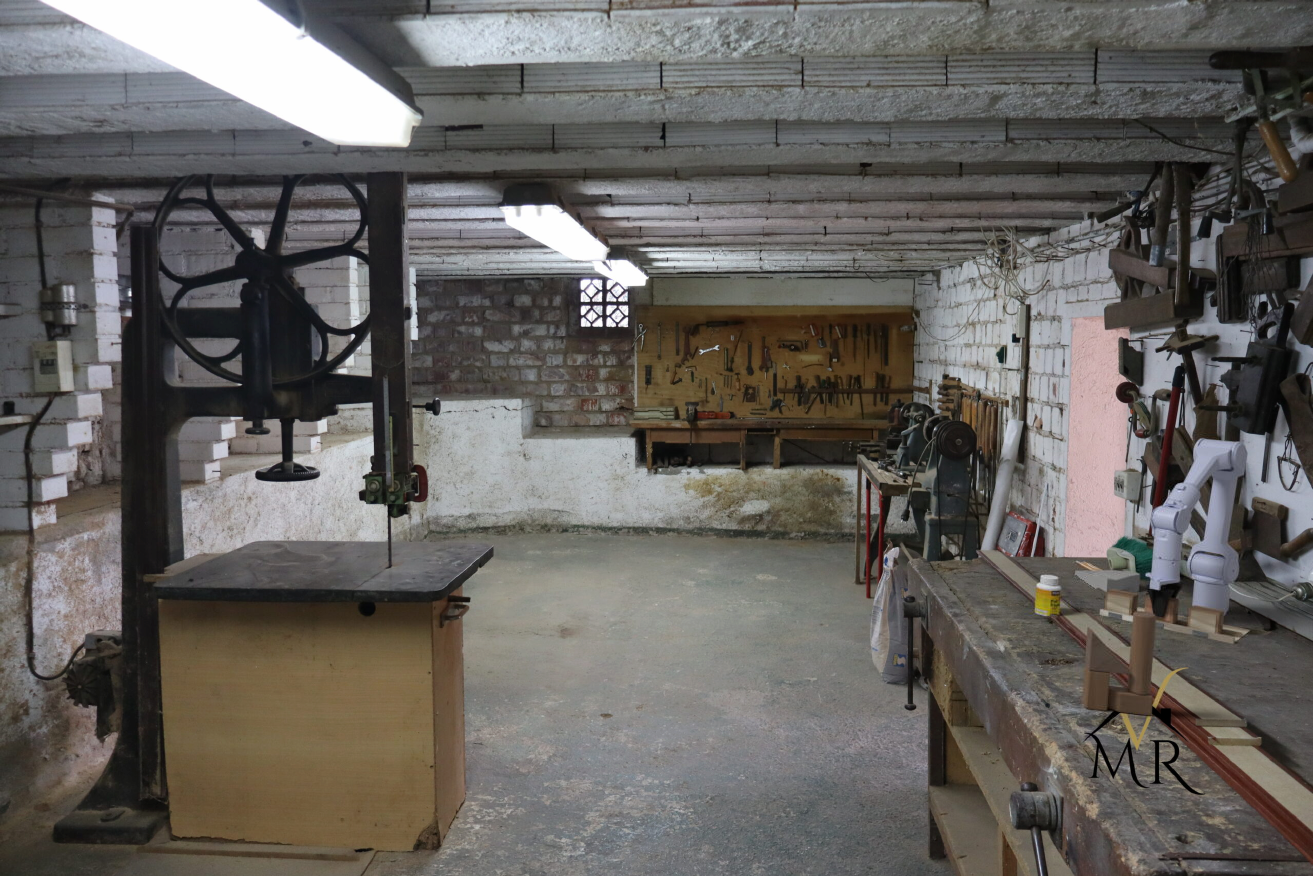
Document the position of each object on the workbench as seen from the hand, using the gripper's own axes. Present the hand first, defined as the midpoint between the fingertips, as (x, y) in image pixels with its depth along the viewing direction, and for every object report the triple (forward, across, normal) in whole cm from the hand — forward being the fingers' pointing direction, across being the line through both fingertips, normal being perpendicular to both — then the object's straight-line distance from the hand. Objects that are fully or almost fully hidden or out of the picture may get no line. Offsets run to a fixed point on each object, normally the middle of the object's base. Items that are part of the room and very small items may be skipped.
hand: (1162, 614), depth 210 cm
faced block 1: (+2, 0, -9) cm, 9 cm away
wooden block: (+4, +61, +10) cm, 62 cm away
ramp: (+4, -33, -24) cm, 41 cm away
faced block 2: (+2, 0, +9) cm, 9 cm away
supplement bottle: (+4, +13, -22) cm, 25 cm away
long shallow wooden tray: (+3, -4, +2) cm, 5 cm away
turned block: (+2, 0, 0) cm, 2 cm away
